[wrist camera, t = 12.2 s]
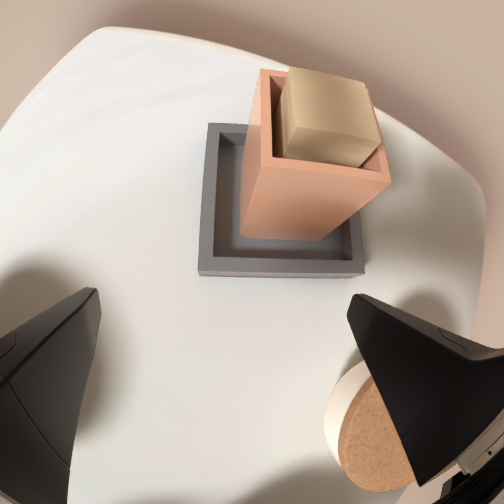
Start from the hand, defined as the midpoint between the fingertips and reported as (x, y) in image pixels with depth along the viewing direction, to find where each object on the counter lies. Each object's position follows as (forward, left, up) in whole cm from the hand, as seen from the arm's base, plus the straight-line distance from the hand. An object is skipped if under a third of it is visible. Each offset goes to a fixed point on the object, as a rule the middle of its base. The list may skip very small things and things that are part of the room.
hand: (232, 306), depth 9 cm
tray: (-5, -9, -13) cm, 16 cm away
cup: (-5, -9, -12) cm, 16 cm away
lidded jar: (-11, +9, -13) cm, 20 cm away
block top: (-5, -9, -4) cm, 11 cm away
